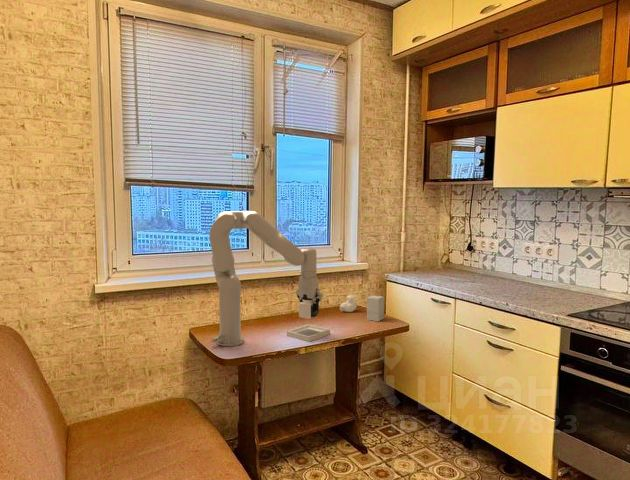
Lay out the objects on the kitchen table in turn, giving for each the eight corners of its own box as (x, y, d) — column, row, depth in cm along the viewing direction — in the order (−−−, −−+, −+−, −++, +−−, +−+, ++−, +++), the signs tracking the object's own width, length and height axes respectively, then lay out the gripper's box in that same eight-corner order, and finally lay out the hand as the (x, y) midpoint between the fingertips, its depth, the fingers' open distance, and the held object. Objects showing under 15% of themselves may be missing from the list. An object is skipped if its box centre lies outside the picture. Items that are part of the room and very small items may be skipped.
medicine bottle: (311, 319, 206) (310, 294, 205) (298, 317, 209) (298, 292, 208) (319, 316, 212) (318, 291, 211) (306, 314, 215) (306, 290, 214)
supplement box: (384, 318, 241) (384, 296, 240) (378, 321, 234) (379, 298, 233) (372, 317, 245) (372, 294, 244) (366, 319, 238) (366, 297, 237)
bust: (340, 316, 254) (347, 303, 247) (335, 306, 259) (341, 294, 252) (357, 313, 260) (364, 301, 253) (351, 304, 265) (358, 291, 258)
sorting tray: (308, 341, 201) (308, 337, 201) (286, 335, 210) (286, 331, 209) (330, 333, 213) (330, 329, 213) (308, 328, 222) (308, 324, 222)
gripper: (290, 273, 211) (290, 308, 213) (317, 276, 200) (317, 314, 202) (300, 271, 217) (300, 305, 219) (327, 274, 206) (327, 311, 208)
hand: (308, 309), depth 210 cm, fingers closed on medicine bottle, 7 cm apart
